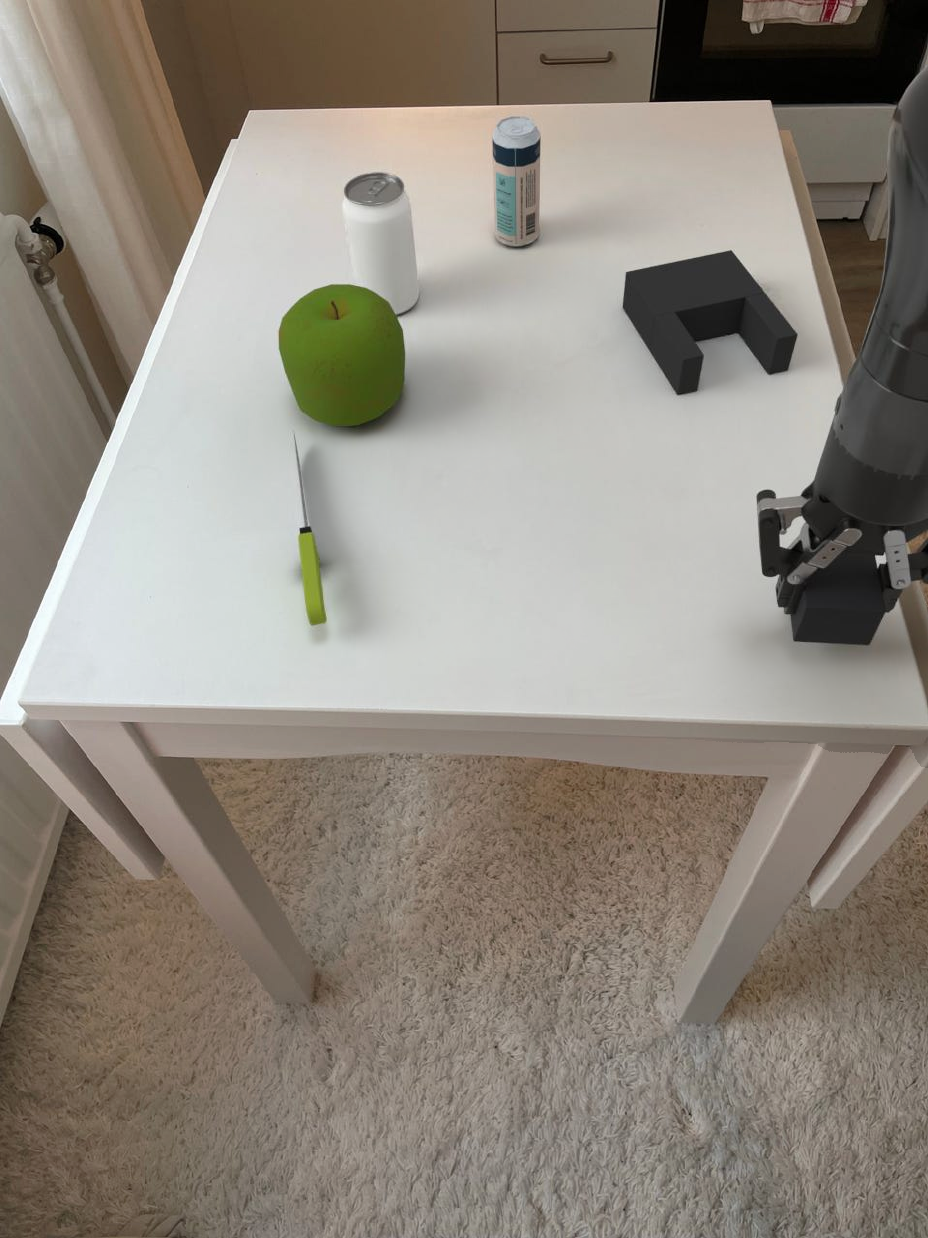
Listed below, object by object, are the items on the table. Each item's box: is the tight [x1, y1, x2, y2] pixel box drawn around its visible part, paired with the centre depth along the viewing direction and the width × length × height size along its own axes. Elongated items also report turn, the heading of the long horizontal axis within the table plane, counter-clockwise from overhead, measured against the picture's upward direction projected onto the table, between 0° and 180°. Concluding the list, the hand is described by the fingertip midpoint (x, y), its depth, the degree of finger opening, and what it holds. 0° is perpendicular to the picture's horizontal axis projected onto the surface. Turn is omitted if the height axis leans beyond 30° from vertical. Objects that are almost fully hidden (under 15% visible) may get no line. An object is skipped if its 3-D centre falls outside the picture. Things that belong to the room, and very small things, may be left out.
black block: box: [789, 553, 886, 646], centre depth 67 cm, size 5×5×4 cm
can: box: [341, 171, 420, 316], centre depth 93 cm, size 6×6×12 cm
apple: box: [278, 283, 406, 427], centre depth 85 cm, size 11×11×11 cm
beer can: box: [491, 115, 541, 248], centre depth 99 cm, size 5×5×12 cm
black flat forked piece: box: [622, 249, 798, 396], centre depth 90 cm, size 14×11×4 cm
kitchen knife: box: [292, 429, 328, 626], centre depth 78 cm, size 22×1×3 cm, turn 11°
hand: (830, 606), depth 68 cm, fingers closed on black block, 5 cm apart
